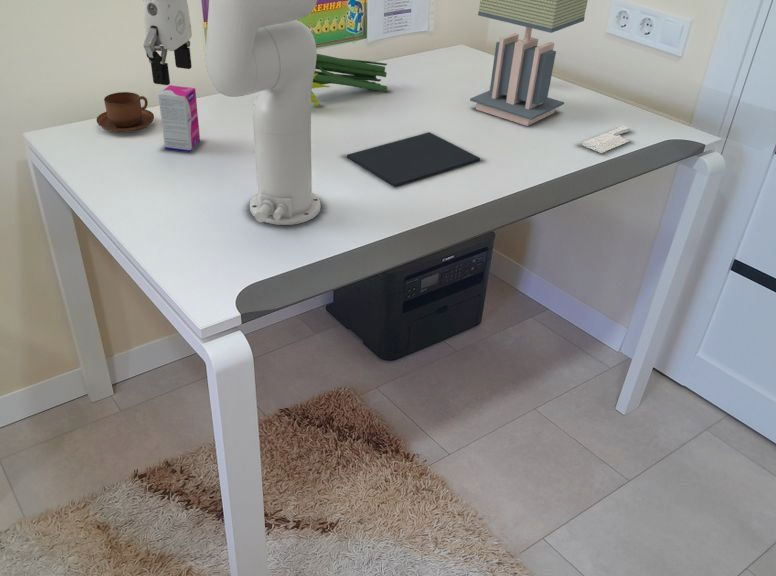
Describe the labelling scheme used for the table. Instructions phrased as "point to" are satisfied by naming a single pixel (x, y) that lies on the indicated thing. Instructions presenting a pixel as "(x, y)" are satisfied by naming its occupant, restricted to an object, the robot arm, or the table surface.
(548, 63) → the desk lamp
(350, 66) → the daffodil flowers
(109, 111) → the cup and saucer
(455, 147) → the desk pad
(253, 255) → the table surface
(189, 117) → the supplement box
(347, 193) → the table surface
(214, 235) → the table surface
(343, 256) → the table surface
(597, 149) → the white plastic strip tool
